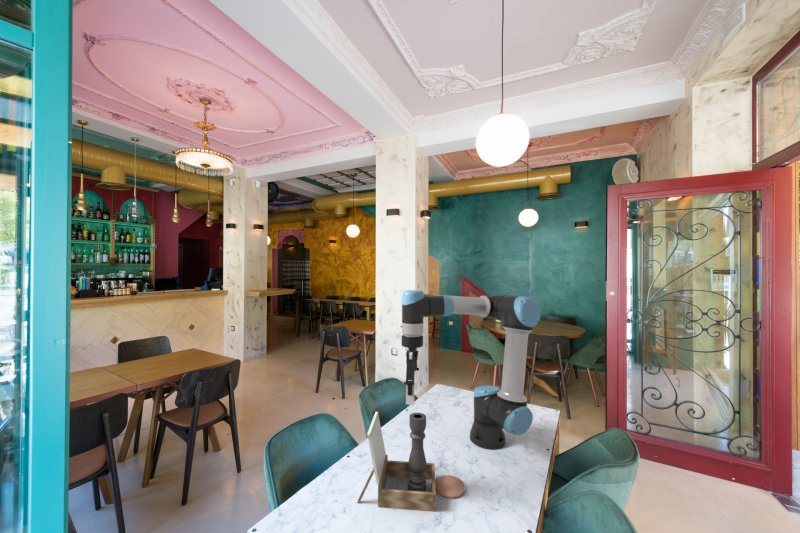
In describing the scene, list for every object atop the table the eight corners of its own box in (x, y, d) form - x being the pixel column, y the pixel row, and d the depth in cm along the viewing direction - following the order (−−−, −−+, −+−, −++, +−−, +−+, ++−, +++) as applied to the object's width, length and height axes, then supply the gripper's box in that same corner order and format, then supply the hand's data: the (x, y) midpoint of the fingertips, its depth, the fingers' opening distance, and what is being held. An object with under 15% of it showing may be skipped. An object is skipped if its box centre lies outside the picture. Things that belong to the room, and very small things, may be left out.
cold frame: (434, 477, 110) (434, 443, 111) (435, 512, 94) (436, 471, 95) (366, 473, 112) (366, 439, 113) (356, 505, 97) (357, 466, 97)
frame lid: (386, 454, 112) (386, 411, 113) (379, 485, 96) (379, 434, 96) (374, 453, 113) (375, 411, 113) (366, 484, 96) (366, 434, 97)
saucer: (462, 479, 109) (462, 476, 110) (466, 499, 100) (466, 496, 100) (434, 477, 110) (434, 474, 110) (435, 497, 100) (435, 493, 100)
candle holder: (406, 486, 106) (407, 412, 106) (424, 485, 106) (425, 411, 107) (408, 499, 100) (409, 420, 100) (427, 498, 100) (428, 420, 101)
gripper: (405, 328, 120) (404, 383, 119) (397, 341, 95) (396, 411, 95) (424, 329, 119) (423, 384, 119) (421, 342, 94) (420, 412, 94)
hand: (411, 396), depth 107 cm, fingers open, 13 cm apart
